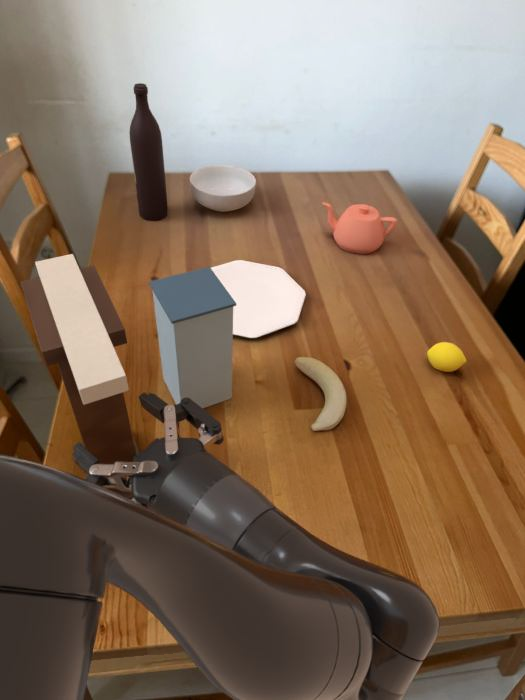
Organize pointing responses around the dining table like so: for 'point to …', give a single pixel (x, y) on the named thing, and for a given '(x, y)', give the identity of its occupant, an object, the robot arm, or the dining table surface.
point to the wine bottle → (148, 159)
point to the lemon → (446, 357)
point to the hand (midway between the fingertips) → (111, 423)
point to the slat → (81, 330)
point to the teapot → (359, 228)
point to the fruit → (325, 392)
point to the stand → (93, 418)
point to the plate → (260, 297)
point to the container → (195, 336)
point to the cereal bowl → (222, 187)
